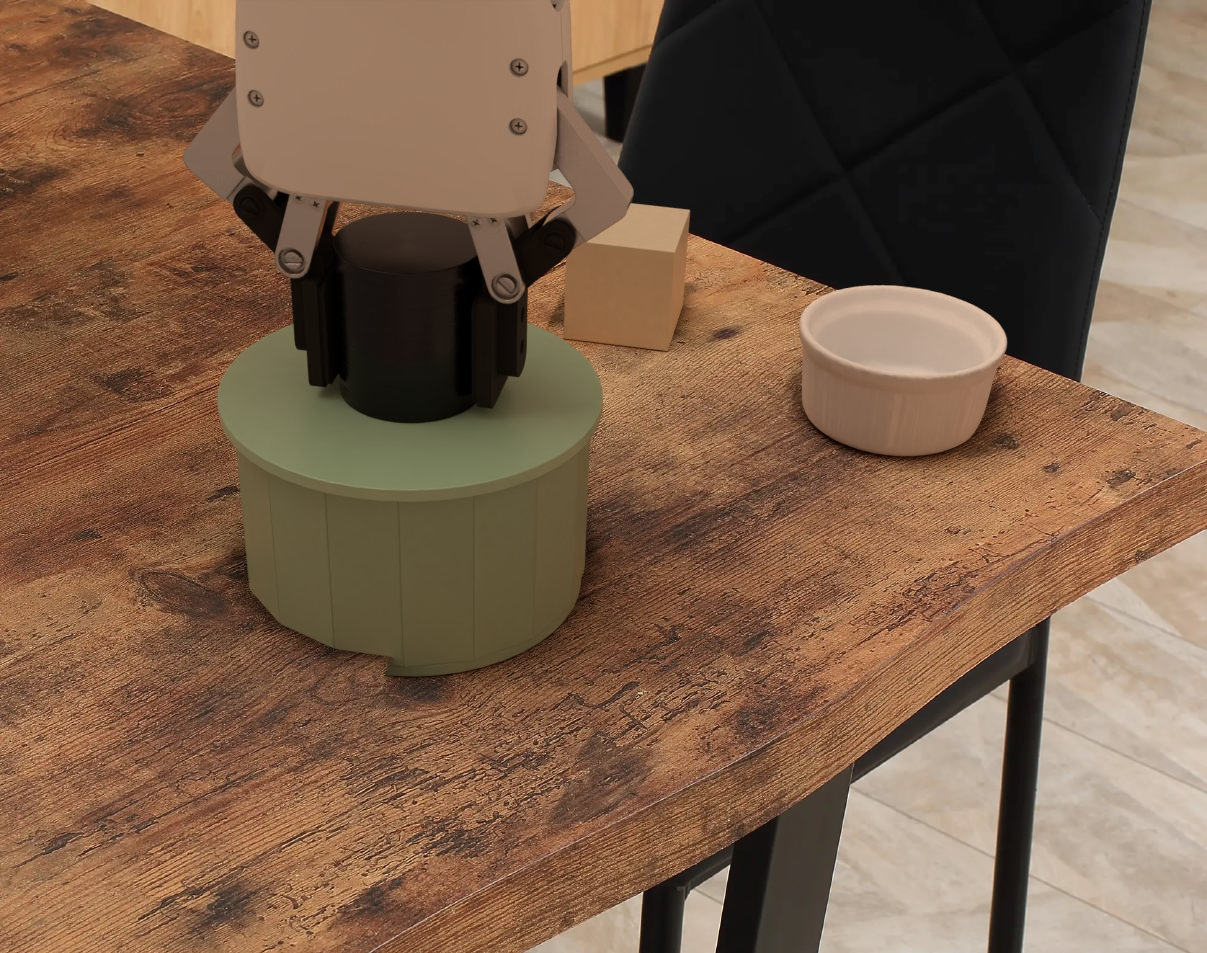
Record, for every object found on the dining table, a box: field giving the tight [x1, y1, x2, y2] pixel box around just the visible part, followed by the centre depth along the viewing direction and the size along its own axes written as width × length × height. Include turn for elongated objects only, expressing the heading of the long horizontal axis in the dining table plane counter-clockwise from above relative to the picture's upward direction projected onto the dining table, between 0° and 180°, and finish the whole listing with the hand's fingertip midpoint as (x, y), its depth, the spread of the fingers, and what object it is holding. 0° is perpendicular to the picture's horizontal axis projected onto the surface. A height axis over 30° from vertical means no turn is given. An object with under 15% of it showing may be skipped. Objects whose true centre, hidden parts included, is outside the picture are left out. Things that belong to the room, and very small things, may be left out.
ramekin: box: [798, 284, 1008, 457], centre depth 75 cm, size 9×9×4 cm
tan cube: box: [562, 202, 691, 352], centre depth 82 cm, size 5×5×5 cm
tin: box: [235, 439, 591, 678], centre depth 63 cm, size 12×12×8 cm
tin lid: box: [216, 211, 604, 502], centre depth 59 cm, size 13×13×7 cm
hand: (411, 374), depth 60 cm, fingers open, 5 cm apart
